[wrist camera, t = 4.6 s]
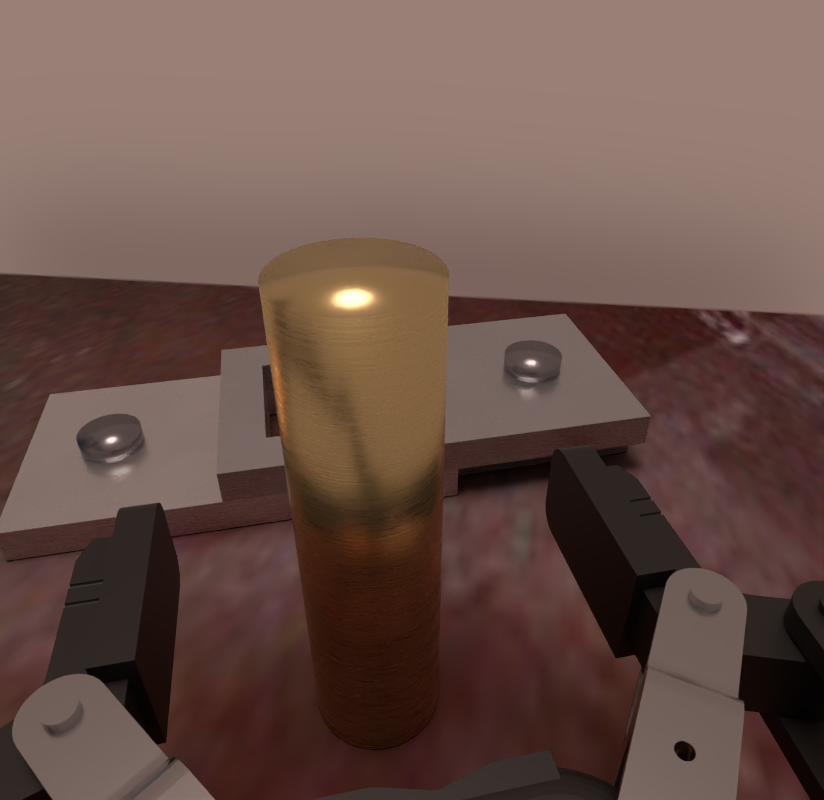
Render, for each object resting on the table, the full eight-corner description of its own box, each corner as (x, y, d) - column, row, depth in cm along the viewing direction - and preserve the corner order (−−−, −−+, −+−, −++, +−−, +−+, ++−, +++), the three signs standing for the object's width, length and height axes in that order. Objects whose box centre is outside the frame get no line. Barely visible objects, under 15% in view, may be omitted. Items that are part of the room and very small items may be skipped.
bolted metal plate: (6, 560, 22) (-28, 491, 21) (58, 418, 29) (36, 356, 27) (638, 468, 26) (654, 402, 24) (559, 359, 32) (566, 301, 31)
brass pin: (324, 760, 17) (260, 327, 10) (312, 650, 20) (256, 245, 13) (451, 735, 18) (470, 306, 11) (423, 630, 20) (426, 231, 13)
